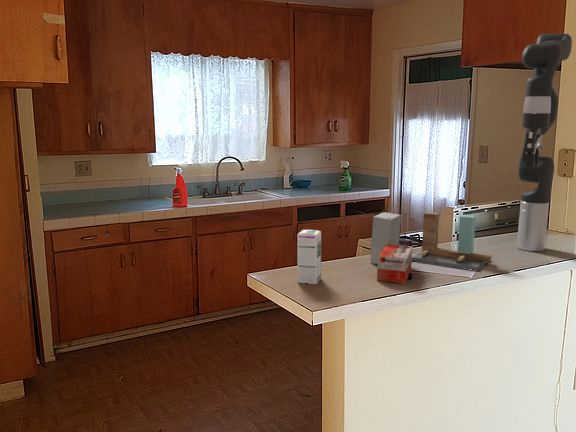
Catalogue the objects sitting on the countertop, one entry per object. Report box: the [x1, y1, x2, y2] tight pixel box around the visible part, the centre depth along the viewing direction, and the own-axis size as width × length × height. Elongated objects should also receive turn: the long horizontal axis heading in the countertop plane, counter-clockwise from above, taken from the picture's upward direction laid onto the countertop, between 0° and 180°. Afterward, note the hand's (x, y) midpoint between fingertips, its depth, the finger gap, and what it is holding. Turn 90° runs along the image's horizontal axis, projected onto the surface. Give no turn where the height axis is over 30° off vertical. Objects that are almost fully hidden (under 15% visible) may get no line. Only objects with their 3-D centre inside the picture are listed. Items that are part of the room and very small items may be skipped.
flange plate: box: [412, 251, 488, 272], centre depth 178 cm, size 16×21×1 cm
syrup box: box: [296, 229, 322, 285], centre depth 154 cm, size 6×6×14 cm
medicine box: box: [376, 244, 414, 285], centre depth 160 cm, size 15×8×8 cm, turn 160°
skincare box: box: [369, 211, 402, 265], centre depth 174 cm, size 8×7×16 cm
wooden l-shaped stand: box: [421, 211, 493, 263], centre depth 176 cm, size 9×22×14 cm, turn 57°
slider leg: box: [457, 214, 477, 261], centre depth 175 cm, size 9×4×14 cm, turn 147°
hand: (531, 165), depth 167 cm, fingers open, 8 cm apart
